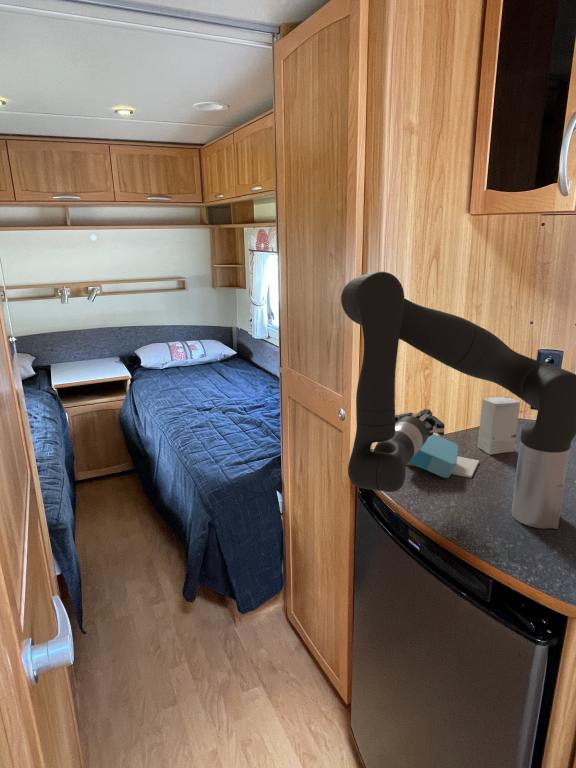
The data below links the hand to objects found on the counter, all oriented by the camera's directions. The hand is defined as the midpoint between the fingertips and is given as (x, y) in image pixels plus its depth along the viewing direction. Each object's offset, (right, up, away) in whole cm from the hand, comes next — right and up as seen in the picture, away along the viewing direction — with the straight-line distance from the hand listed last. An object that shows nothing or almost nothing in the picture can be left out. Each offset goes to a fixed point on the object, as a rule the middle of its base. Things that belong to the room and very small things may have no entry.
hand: (427, 413), depth 120 cm
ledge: (+1, -13, +17) cm, 21 cm away
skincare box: (+25, -12, +21) cm, 35 cm away
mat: (+9, -14, +12) cm, 21 cm away
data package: (+1, -13, +4) cm, 13 cm away
